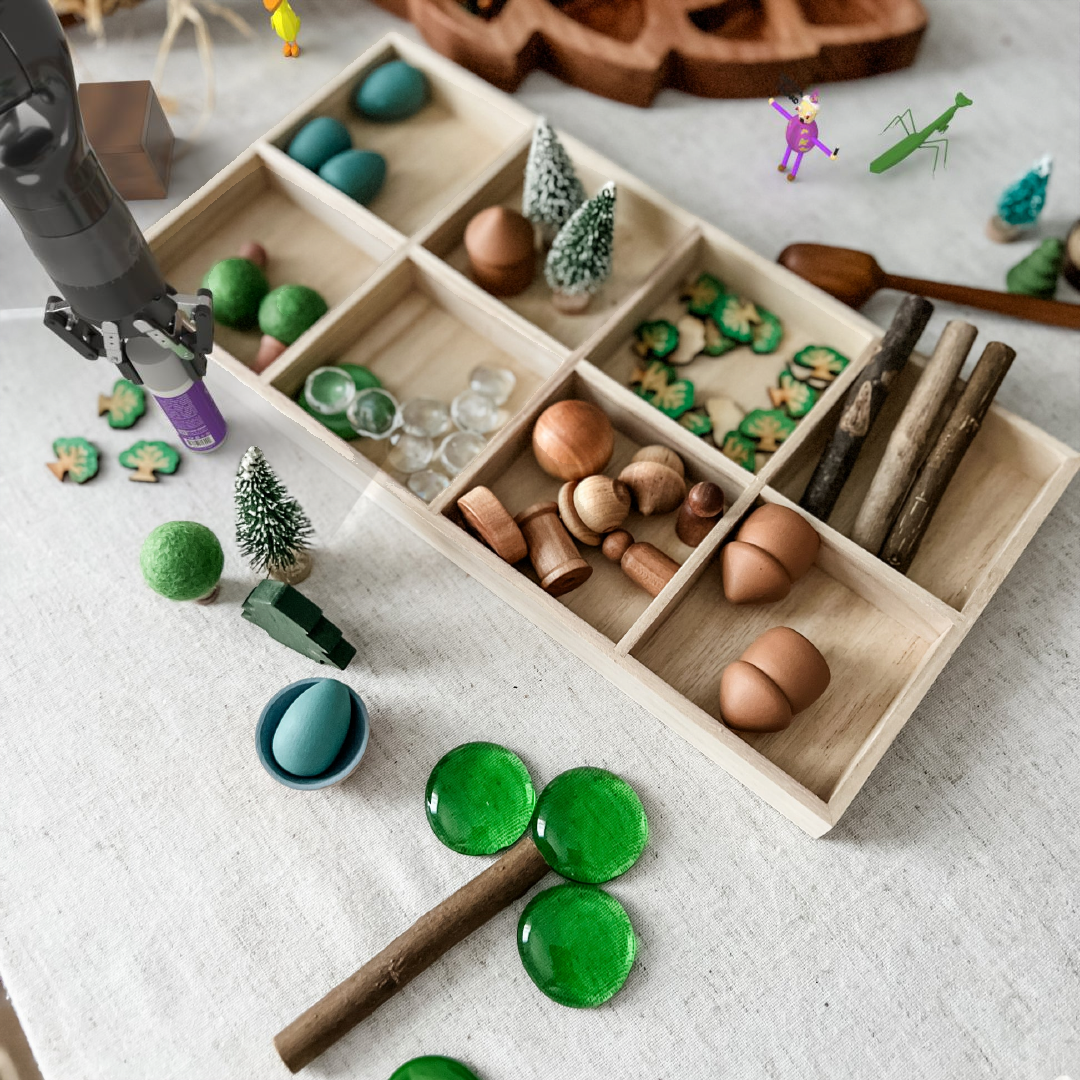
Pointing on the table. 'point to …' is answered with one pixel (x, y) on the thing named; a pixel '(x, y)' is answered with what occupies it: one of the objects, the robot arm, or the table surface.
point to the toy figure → (284, 24)
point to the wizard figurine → (801, 127)
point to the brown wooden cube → (129, 136)
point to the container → (178, 395)
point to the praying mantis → (917, 138)
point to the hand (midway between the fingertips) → (169, 375)
